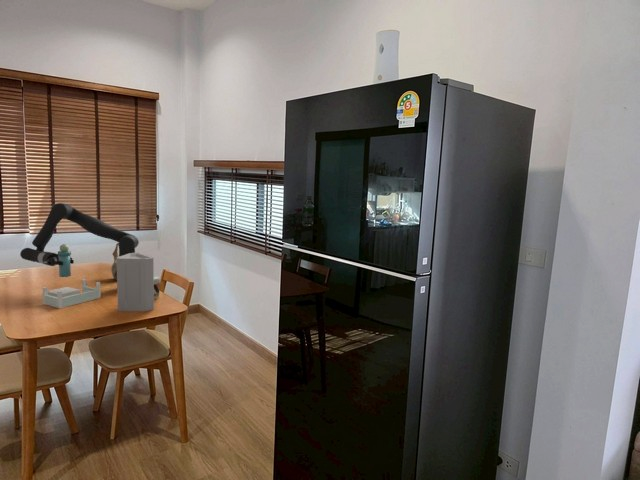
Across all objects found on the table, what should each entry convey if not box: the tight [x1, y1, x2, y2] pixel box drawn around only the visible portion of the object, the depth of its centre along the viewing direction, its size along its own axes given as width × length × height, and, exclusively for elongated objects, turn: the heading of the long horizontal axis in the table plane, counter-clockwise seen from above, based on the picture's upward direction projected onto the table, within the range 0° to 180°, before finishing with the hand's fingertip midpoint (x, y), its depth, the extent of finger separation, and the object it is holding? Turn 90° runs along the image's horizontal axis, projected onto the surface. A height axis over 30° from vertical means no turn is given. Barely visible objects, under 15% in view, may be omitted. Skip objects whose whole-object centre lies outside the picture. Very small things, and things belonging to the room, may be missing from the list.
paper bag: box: [116, 252, 155, 312], centre depth 220 cm, size 19×15×28 cm
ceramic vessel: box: [110, 242, 120, 281], centre depth 276 cm, size 16×9×25 cm, turn 44°
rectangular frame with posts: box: [42, 278, 101, 309], centre depth 228 cm, size 14×24×9 cm, turn 154°
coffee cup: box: [154, 275, 161, 300], centre depth 240 cm, size 9×9×12 cm
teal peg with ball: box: [57, 244, 72, 278], centre depth 233 cm, size 6×6×18 cm
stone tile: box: [47, 286, 81, 298], centre depth 240 cm, size 12×12×2 cm
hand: (67, 262), depth 233 cm, fingers closed on teal peg with ball, 5 cm apart
